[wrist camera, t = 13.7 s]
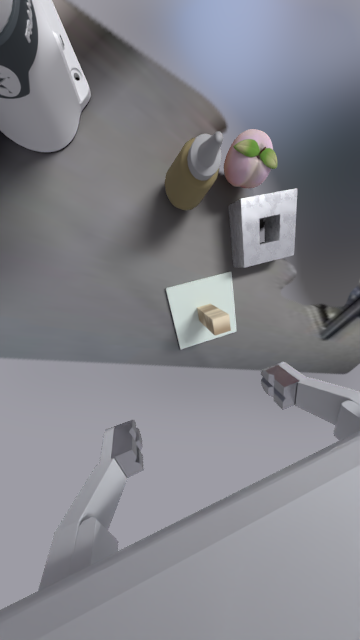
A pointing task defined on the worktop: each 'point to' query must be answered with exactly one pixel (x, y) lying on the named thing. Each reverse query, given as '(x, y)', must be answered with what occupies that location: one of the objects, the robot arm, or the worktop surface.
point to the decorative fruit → (249, 159)
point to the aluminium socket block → (277, 227)
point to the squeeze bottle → (194, 171)
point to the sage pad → (196, 295)
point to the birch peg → (214, 319)
